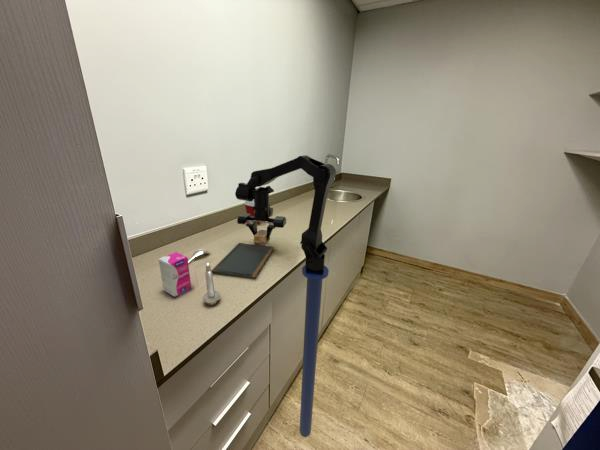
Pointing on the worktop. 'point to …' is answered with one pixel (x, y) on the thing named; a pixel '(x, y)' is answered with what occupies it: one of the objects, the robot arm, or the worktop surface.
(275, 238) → the worktop surface
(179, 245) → the worktop surface
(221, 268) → the chalkboard
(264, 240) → the wooden block
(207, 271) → the screw
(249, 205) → the plastic cup
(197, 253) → the metal serving spoon
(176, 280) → the supplement box
